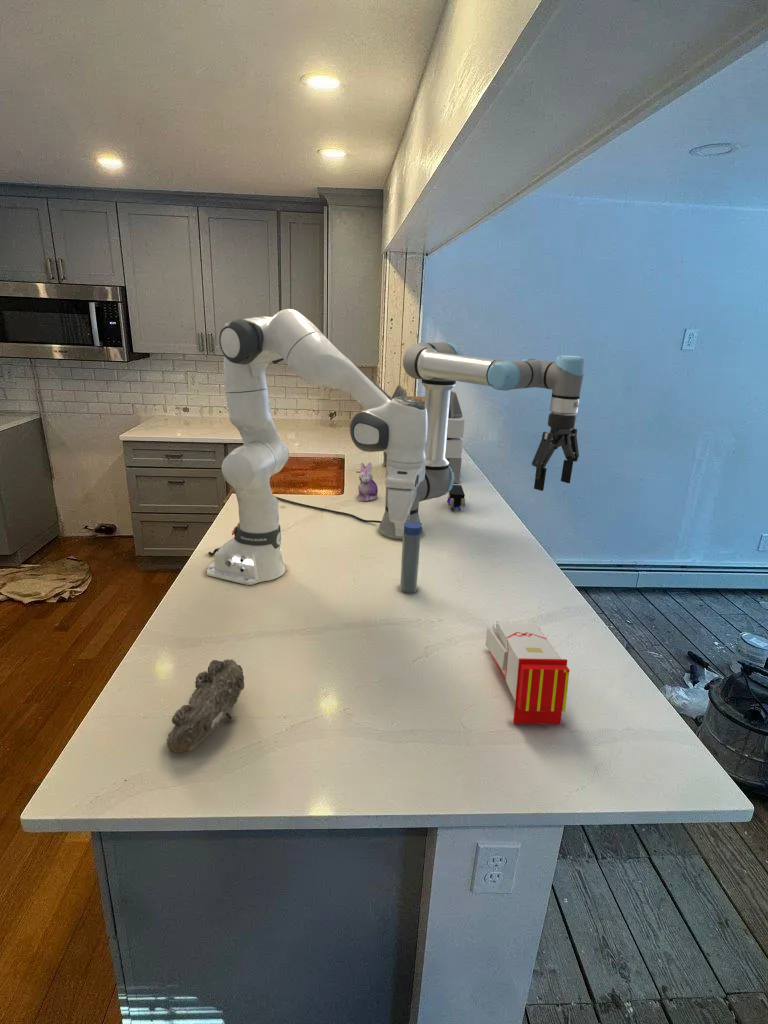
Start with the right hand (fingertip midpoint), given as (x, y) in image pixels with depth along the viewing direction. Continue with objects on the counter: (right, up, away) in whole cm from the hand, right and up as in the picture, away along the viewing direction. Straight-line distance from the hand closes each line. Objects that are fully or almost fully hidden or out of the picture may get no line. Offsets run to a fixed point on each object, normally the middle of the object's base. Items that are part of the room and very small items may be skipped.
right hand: (552, 485), depth 166 cm
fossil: (-82, -47, -57) cm, 110 cm away
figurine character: (-20, -6, +65) cm, 68 cm away
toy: (-20, -44, -43) cm, 65 cm away
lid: (-41, -11, -11) cm, 44 cm away
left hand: (-45, -11, -33) cm, 57 cm away
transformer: (-32, +11, +109) cm, 115 cm away
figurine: (-56, -2, +70) cm, 90 cm away
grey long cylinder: (-42, -29, -5) cm, 52 cm away
